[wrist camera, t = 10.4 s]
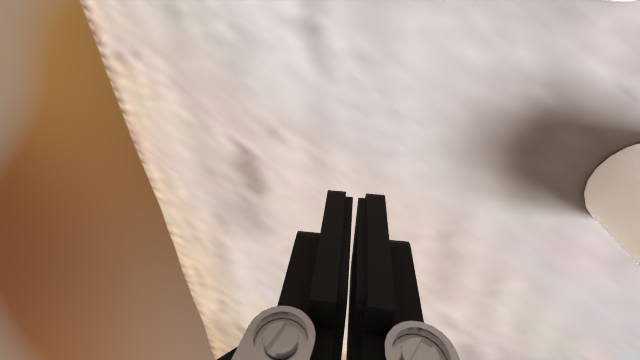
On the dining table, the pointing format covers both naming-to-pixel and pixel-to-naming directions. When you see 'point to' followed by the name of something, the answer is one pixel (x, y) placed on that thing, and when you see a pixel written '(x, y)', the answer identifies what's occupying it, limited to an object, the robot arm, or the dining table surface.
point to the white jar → (618, 198)
